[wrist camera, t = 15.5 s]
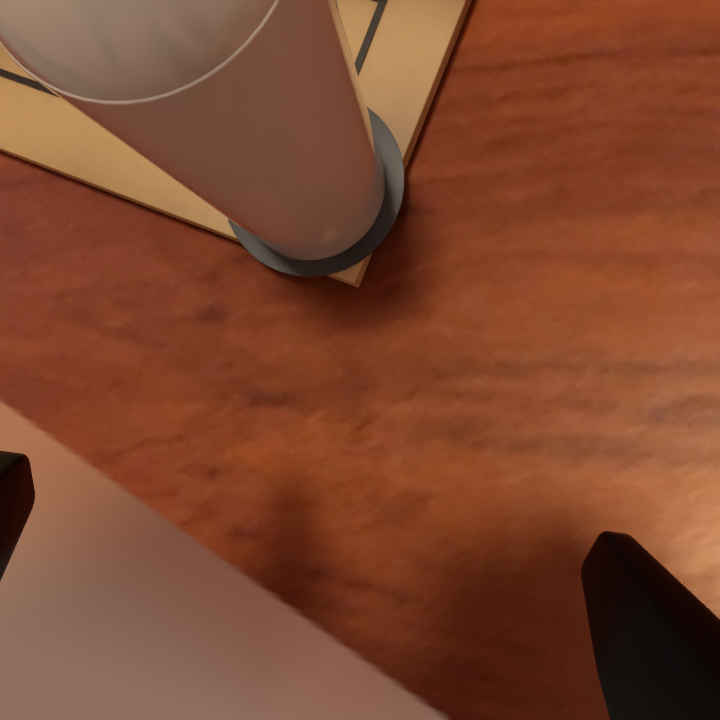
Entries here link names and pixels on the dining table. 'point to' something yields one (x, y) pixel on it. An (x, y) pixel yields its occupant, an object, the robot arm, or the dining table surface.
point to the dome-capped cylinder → (221, 104)
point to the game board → (162, 193)
